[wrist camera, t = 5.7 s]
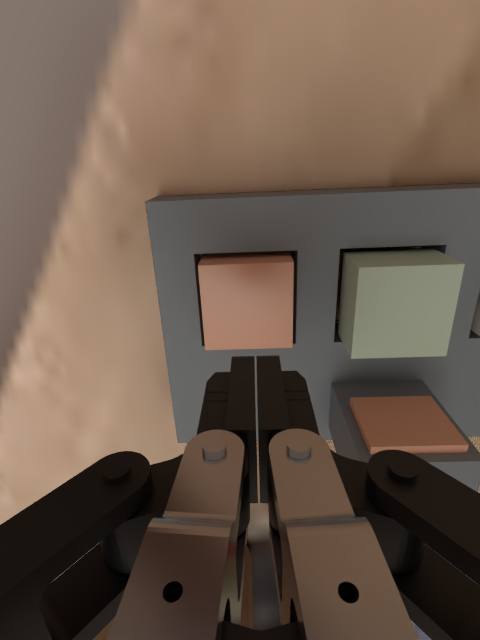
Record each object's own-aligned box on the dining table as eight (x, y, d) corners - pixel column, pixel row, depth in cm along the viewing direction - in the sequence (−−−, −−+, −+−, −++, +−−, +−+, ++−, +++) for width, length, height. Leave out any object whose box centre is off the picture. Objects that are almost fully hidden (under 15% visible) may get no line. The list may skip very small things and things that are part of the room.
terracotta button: (287, 248, 20) (293, 262, 17) (286, 324, 21) (292, 347, 19) (204, 251, 20) (197, 265, 17) (210, 327, 22) (205, 350, 19)
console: (614, 177, 19) (875, 192, 11) (537, 408, 24) (674, 526, 17) (157, 196, 19) (97, 223, 12) (184, 416, 25) (155, 534, 17)
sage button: (434, 249, 18) (464, 263, 16) (420, 330, 20) (446, 356, 18) (343, 252, 18) (359, 267, 16) (337, 333, 20) (351, 358, 18)
